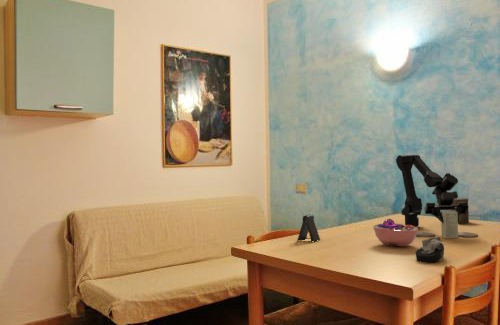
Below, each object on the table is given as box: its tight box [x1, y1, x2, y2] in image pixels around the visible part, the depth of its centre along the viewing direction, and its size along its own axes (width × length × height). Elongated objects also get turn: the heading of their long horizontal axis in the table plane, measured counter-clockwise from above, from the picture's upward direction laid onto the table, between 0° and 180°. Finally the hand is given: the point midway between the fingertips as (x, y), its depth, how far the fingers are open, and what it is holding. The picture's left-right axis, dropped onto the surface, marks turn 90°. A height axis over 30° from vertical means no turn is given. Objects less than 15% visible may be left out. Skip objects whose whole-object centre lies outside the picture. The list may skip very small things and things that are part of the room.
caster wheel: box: [415, 236, 445, 264], centre depth 160 cm, size 7×12×10 cm
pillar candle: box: [449, 197, 470, 225], centre depth 243 cm, size 10×10×15 cm
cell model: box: [372, 218, 419, 247], centre depth 186 cm, size 17×20×11 cm
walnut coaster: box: [458, 231, 479, 239], centre depth 205 cm, size 11×11×1 cm
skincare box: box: [440, 210, 459, 239], centre depth 201 cm, size 6×4×12 cm
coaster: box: [416, 231, 436, 238], centre depth 209 cm, size 11×11×1 cm
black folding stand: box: [297, 213, 321, 242], centre depth 202 cm, size 9×6×12 cm, turn 55°
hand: (450, 222), depth 200 cm, fingers closed on skincare box, 6 cm apart
